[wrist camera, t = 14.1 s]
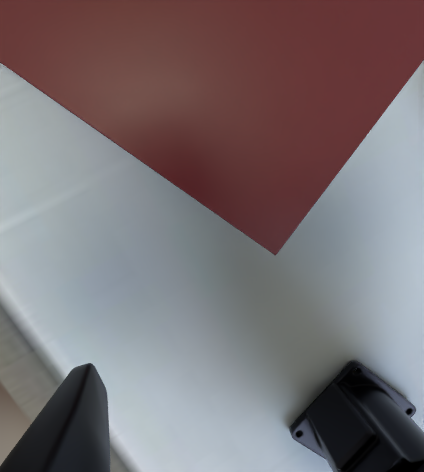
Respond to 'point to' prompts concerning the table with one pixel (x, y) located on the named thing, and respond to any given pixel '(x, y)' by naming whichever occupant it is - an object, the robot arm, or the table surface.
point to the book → (224, 89)
